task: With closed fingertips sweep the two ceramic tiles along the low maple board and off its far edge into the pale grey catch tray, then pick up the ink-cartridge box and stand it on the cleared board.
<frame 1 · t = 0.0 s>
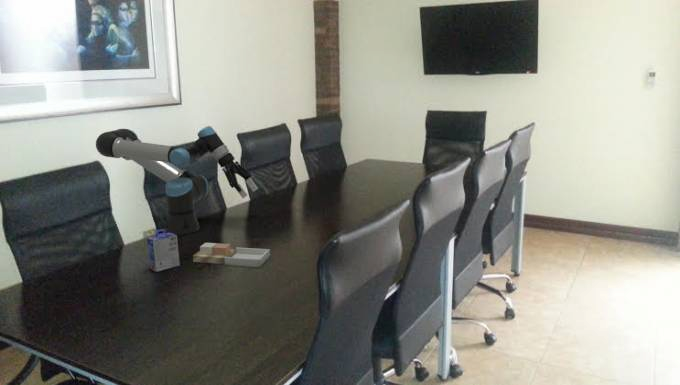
hand: (250, 193, 259), 15 cm above the table, tool tilted 35°, fingers open, 13 cm apart
board: (214, 258, 218), on the table
tile b: (222, 253, 217), point 2 cm above the table, touching board
ink cartridge box: (165, 267, 210), on the table
tile a: (209, 252, 218), point 2 cm above the table, touching board
catch tray: (248, 260, 216), on the table
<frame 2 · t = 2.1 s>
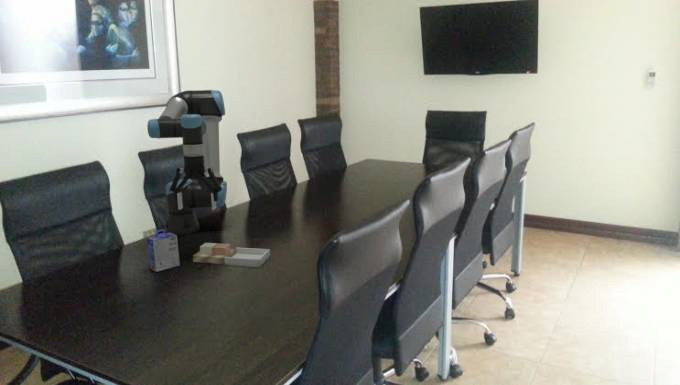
hand: (197, 209, 218), 19 cm above the table, tool pointing down, fingers open, 13 cm apart
nothing on the table moved.
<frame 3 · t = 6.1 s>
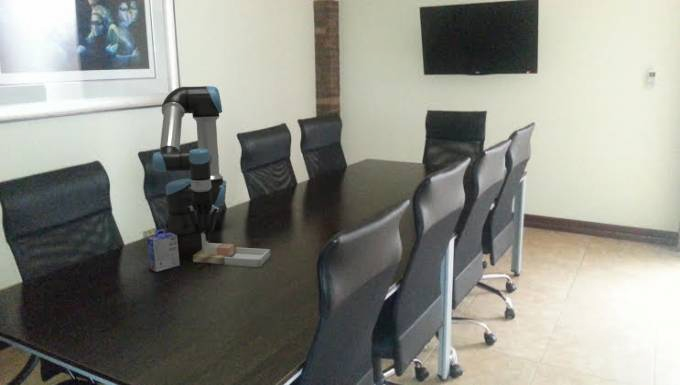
hand: (205, 248, 218), 4 cm above the table, tool pointing down, fingers closed
tile b: (225, 253, 217), point 3 cm above the table, touching board, tile a
tile a: (213, 252, 218), point 3 cm above the table, touching gripper, tile b
everything else where it was.
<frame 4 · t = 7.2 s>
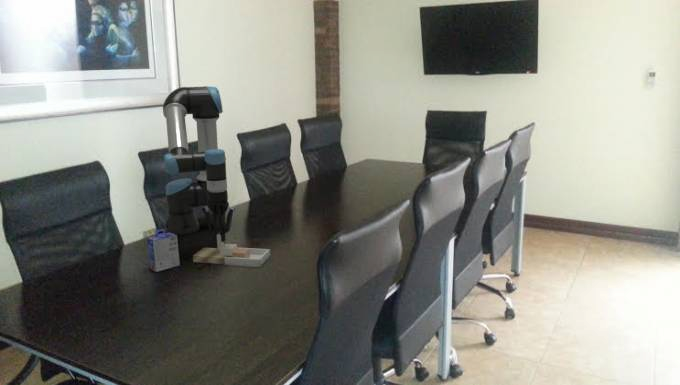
hand: (220, 249, 217), 4 cm above the table, tool pointing down, fingers closed
tile b: (241, 258, 216), point 1 cm above the table, touching catch tray, tile a
tile a: (229, 253, 217), point 3 cm above the table, touching gripper, tile b
everything else where it was.
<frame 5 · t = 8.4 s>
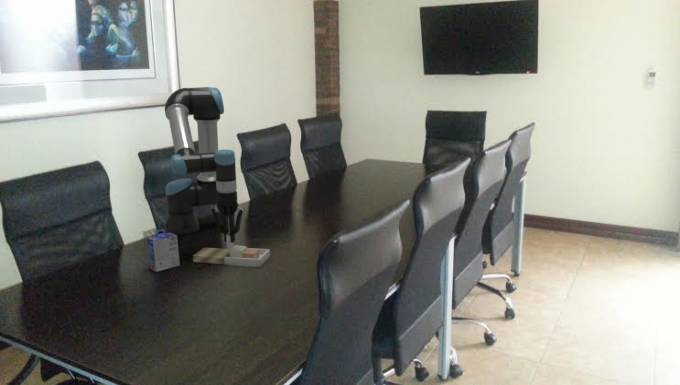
hand: (230, 250, 216), 4 cm above the table, tool pointing down, fingers closed
tile b: (250, 258, 215), point 1 cm above the table, touching catch tray, tile a
tile a: (238, 255, 216), point 2 cm above the table, touching gripper, tile b
everything else where it was.
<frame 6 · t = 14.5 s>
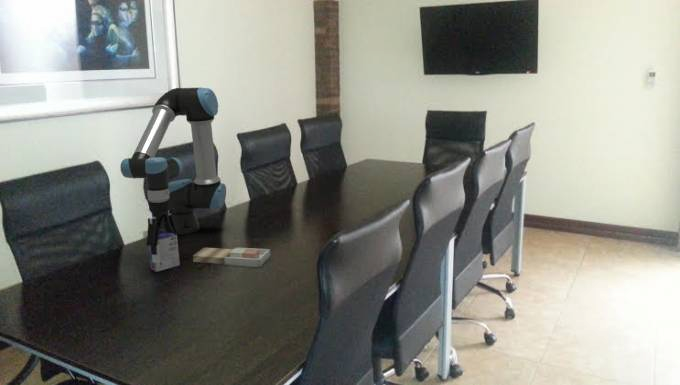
hand: (164, 257, 209), 4 cm above the table, tool pointing down, fingers closed on ink cartridge box, 11 cm apart
tile b: (251, 258, 215), point 1 cm above the table, touching catch tray
ink cartridge box: (165, 267, 210), on the table, touching gripper
tile a: (238, 258, 216), point 1 cm above the table, touching catch tray
when the fingers open (7 cm above the table, at t = 21.4 s): ink cartridge box stays where it is, resting on board.
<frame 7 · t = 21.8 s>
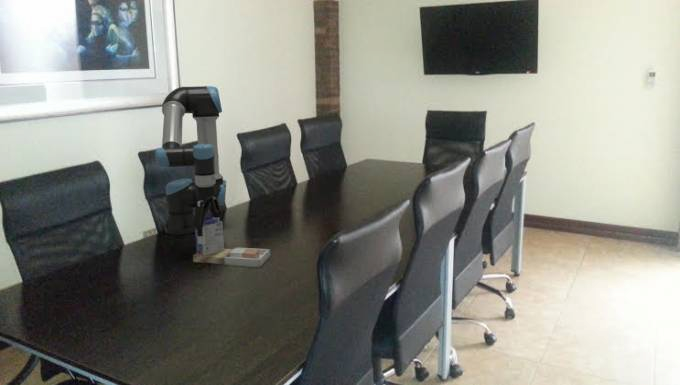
hand: (209, 238, 217), 8 cm above the table, tool pointing down, fingers open, 13 cm apart
ink cartridge box: (210, 252, 219), point 2 cm above the table, touching board
everything else where it was.
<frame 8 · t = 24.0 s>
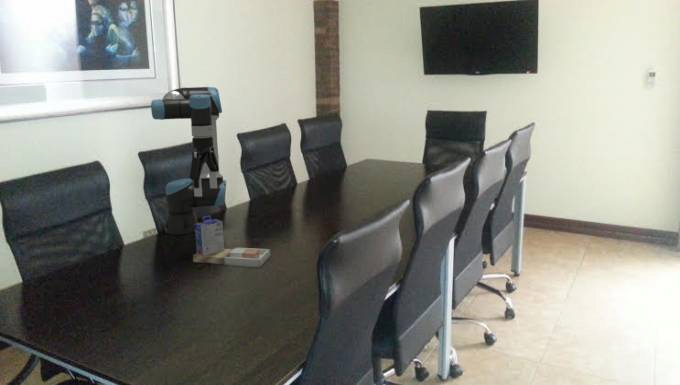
hand: (206, 192, 213), 27 cm above the table, tool pointing down, fingers open, 13 cm apart
nothing on the table moved.
at the end: tile a inside the target area (5.2 cm from its centre), point 0.8 cm above the table; tile b inside the target area (0.1 cm from its centre), point 0.8 cm above the table; ink cartridge box inside the target area (1.5 cm from its centre), point 2.3 cm above the table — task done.
